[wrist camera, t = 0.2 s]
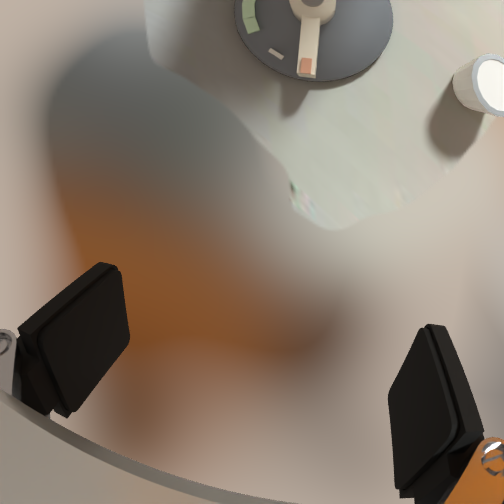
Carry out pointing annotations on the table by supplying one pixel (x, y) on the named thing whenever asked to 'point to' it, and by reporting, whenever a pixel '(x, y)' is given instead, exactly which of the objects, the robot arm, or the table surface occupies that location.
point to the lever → (311, 31)
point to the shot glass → (481, 84)
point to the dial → (330, 39)
